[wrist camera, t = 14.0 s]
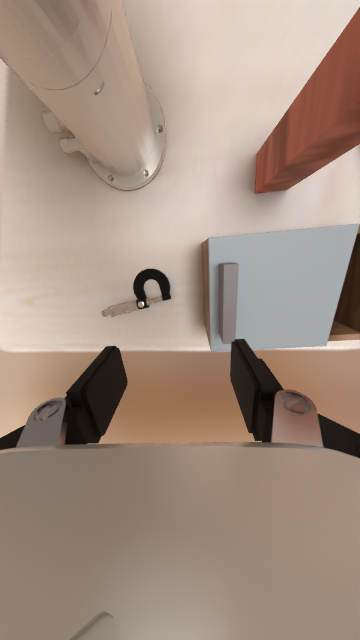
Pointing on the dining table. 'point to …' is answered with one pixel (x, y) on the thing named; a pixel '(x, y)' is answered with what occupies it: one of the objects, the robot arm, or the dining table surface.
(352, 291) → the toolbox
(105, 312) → the micrometer
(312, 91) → the peg
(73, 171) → the dining table surface
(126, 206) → the dining table surface
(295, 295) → the lid
